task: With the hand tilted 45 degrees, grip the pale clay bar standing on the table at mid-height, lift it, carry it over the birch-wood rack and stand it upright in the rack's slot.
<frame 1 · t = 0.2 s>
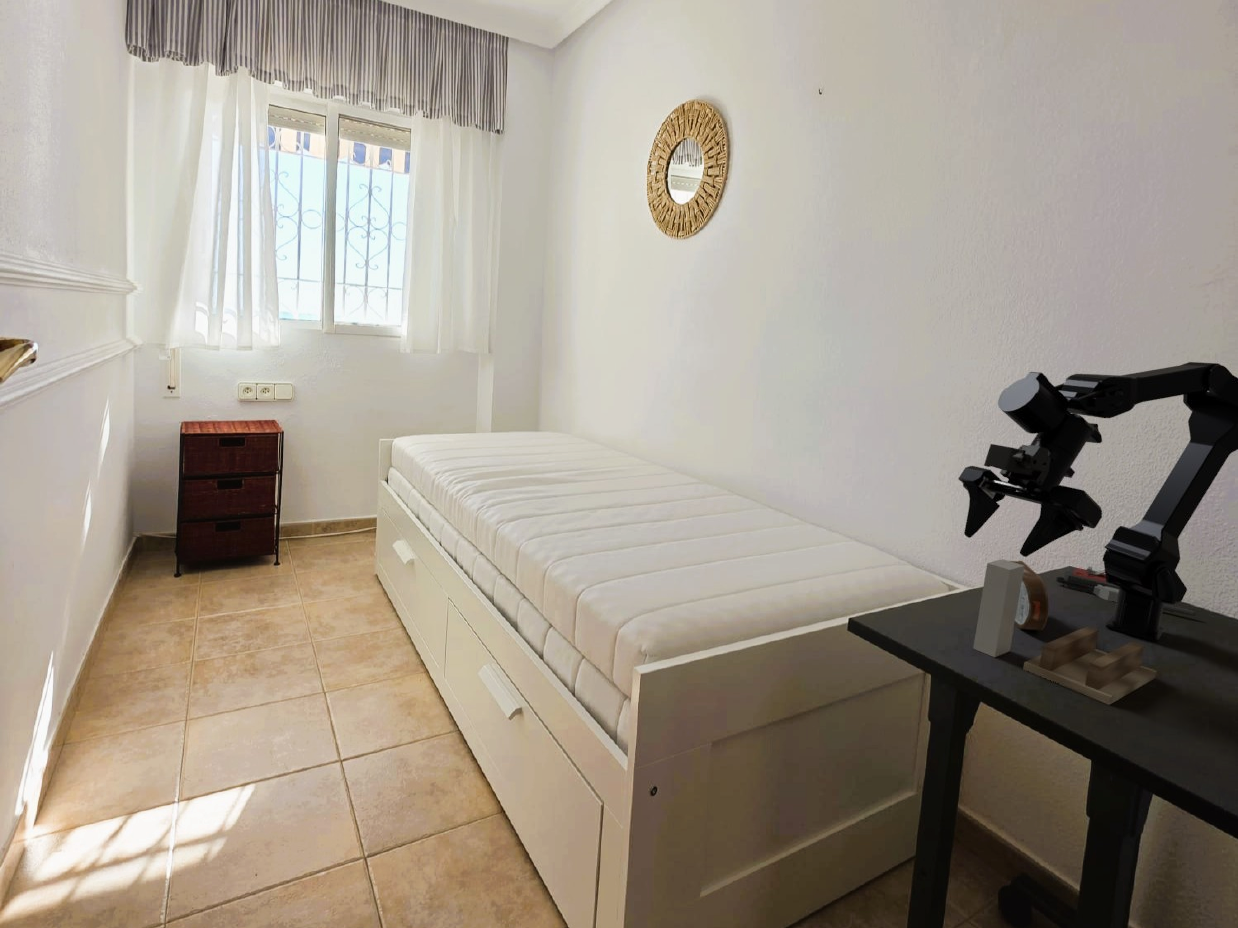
hand: (993, 545, 96), 14 cm above the table, tool tilted 35°, fingers open, 9 cm apart
rack: (1088, 673, 91), on the table
clay bar: (991, 649, 96), on the table
tin: (1015, 620, 109), on the table
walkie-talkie: (1121, 600, 122), on the table
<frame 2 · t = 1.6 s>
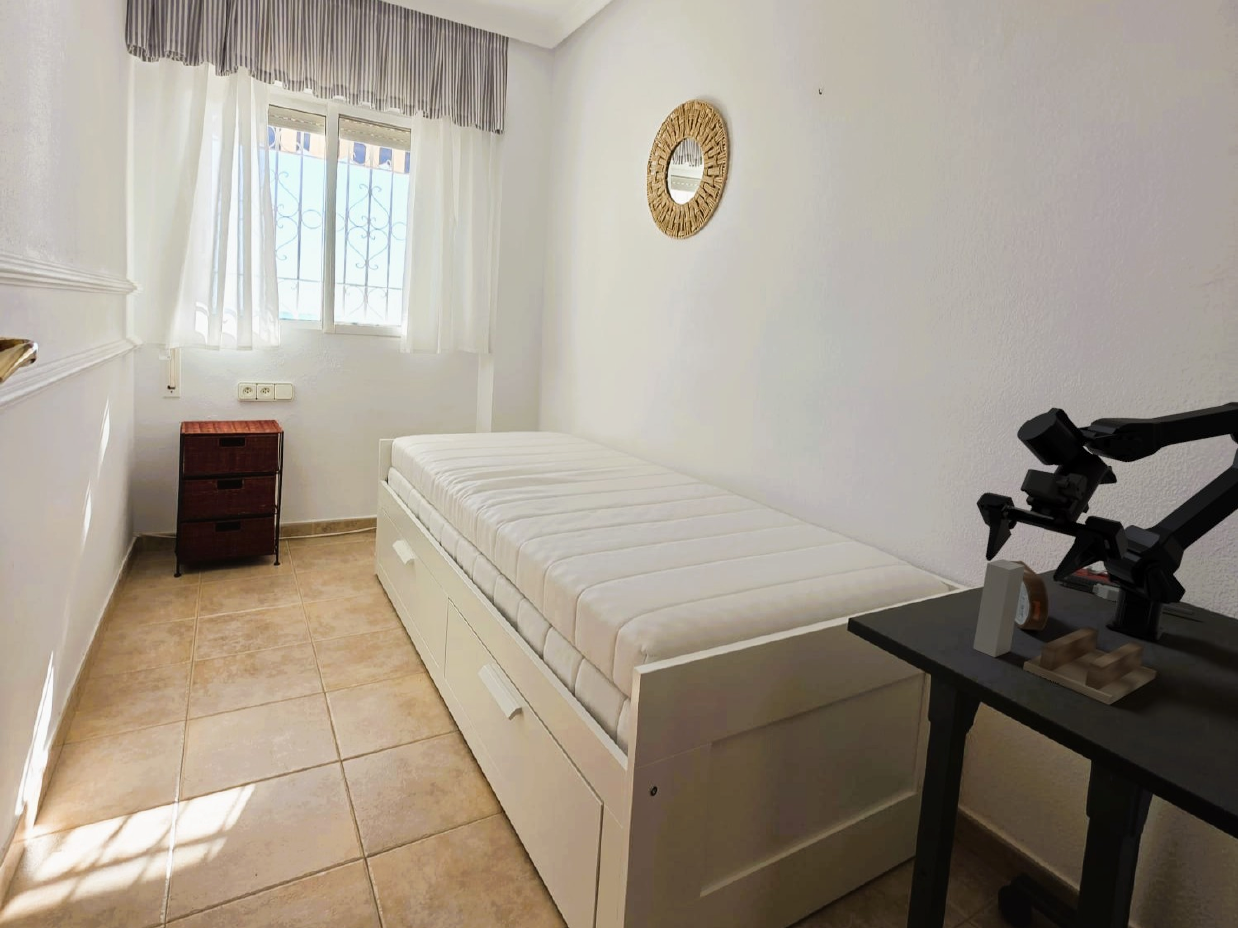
hand: (1019, 569, 97), 11 cm above the table, tool tilted 45°, fingers open, 9 cm apart
nothing on the table moved.
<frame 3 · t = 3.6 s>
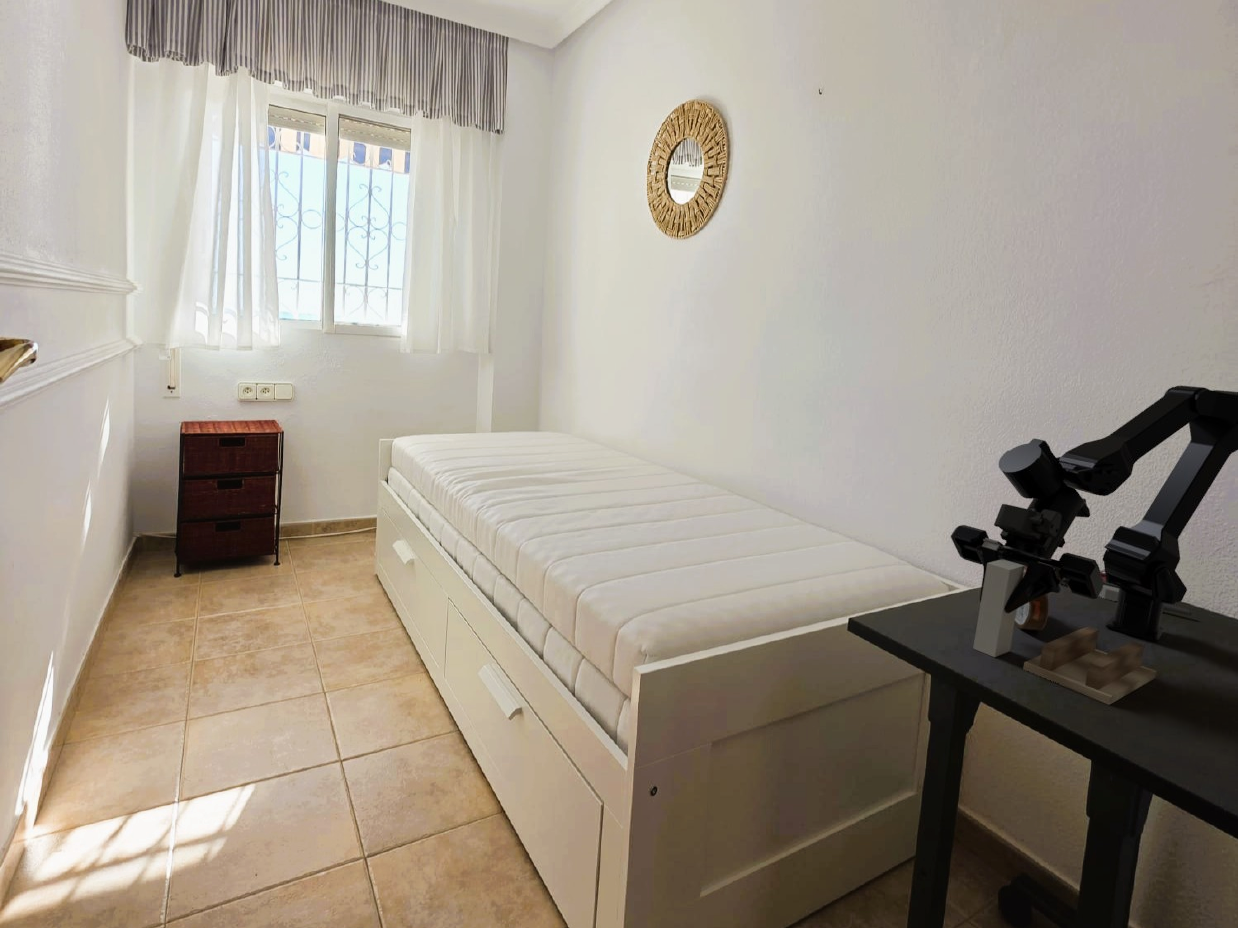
hand: (993, 606, 94), 7 cm above the table, tool tilted 45°, fingers closed on clay bar, 3 cm apart
clay bar: (991, 649, 96), on the table, touching gripper
everything else where it was.
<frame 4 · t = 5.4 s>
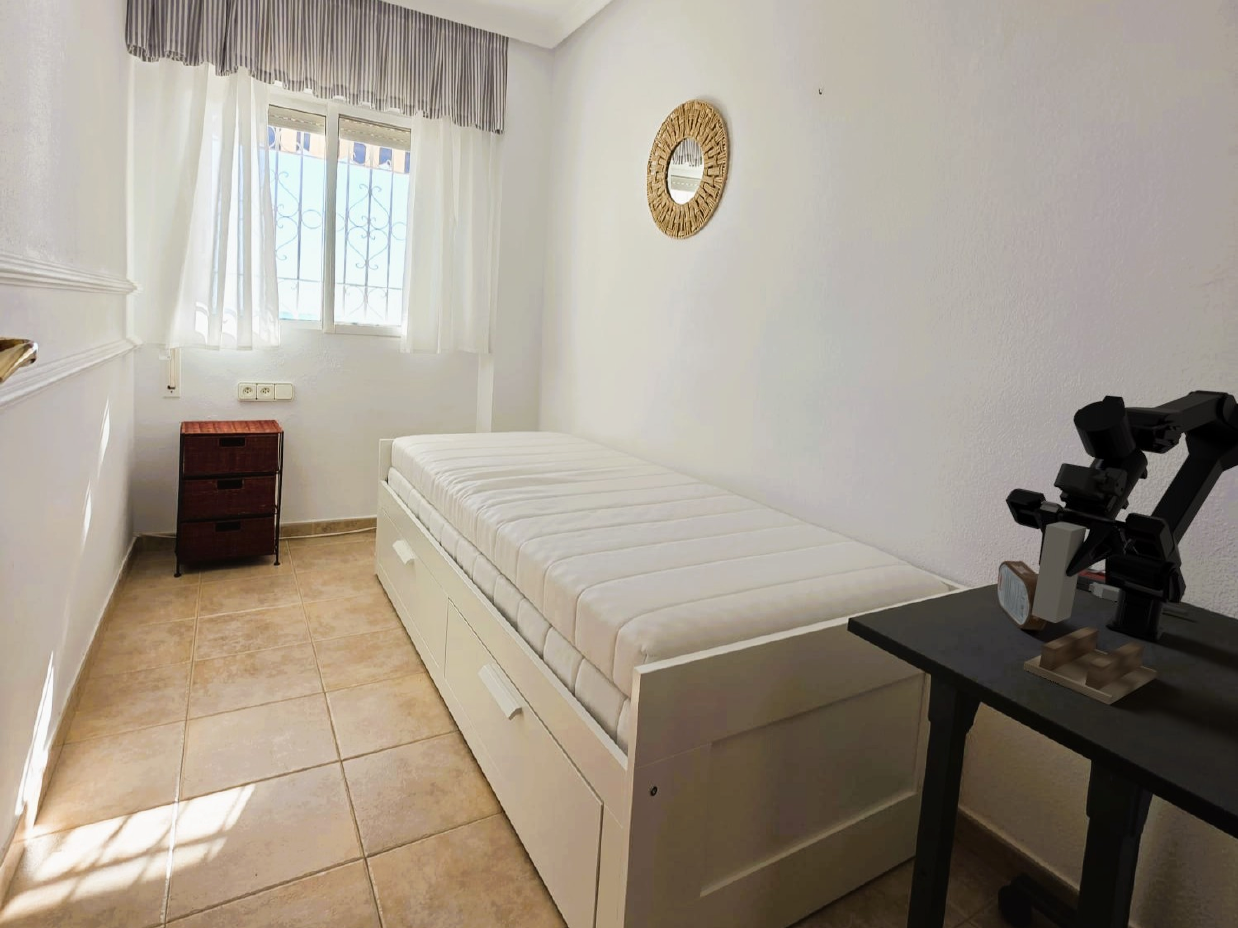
hand: (1054, 570, 91), 13 cm above the table, tool tilted 45°, fingers closed on clay bar, 3 cm apart
clay bar: (1050, 616, 93), point 7 cm above the table, touching gripper
everything else where it was.
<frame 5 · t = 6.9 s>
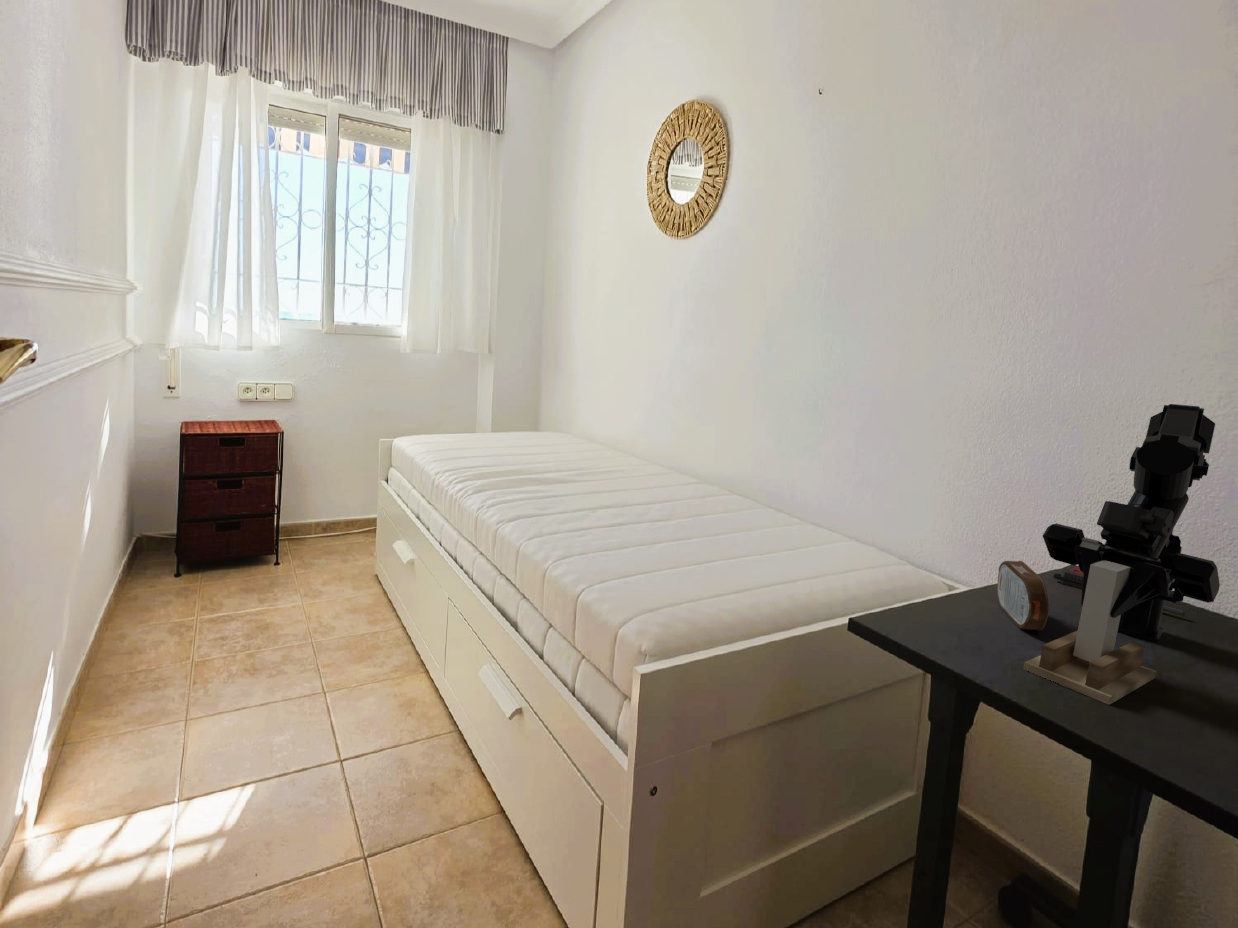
hand: (1097, 611, 88), 9 cm above the table, tool tilted 45°, fingers closed on clay bar, 3 cm apart
clay bar: (1092, 656, 90), point 2 cm above the table, touching gripper
when the fingers open (9 cm above the table, at t = 7.1 s): clay bar drops 1 cm, resting on rack.
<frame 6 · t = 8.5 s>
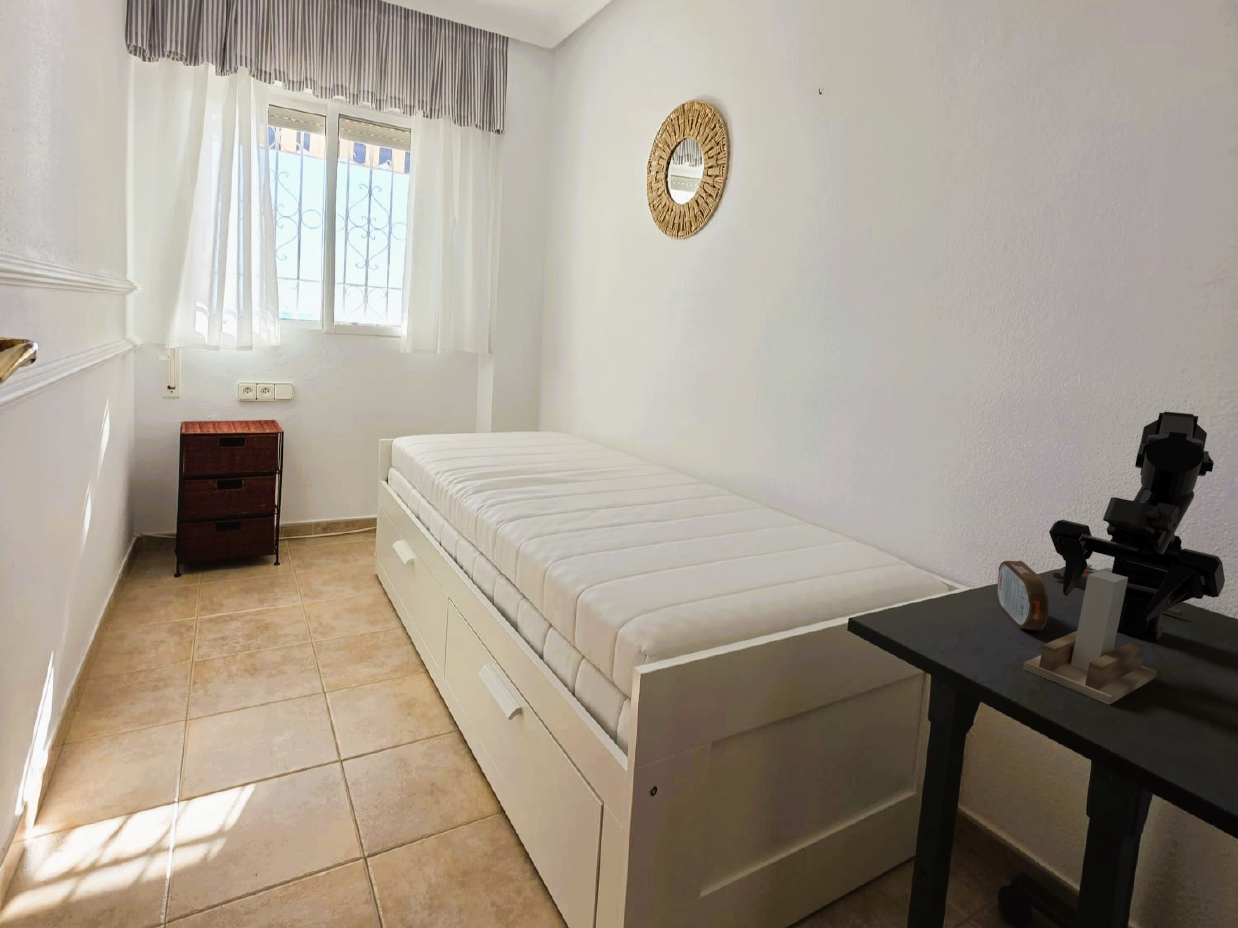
hand: (1103, 605, 90), 9 cm above the table, tool tilted 45°, fingers open, 9 cm apart
clay bar: (1090, 666, 91), point 1 cm above the table, touching rack
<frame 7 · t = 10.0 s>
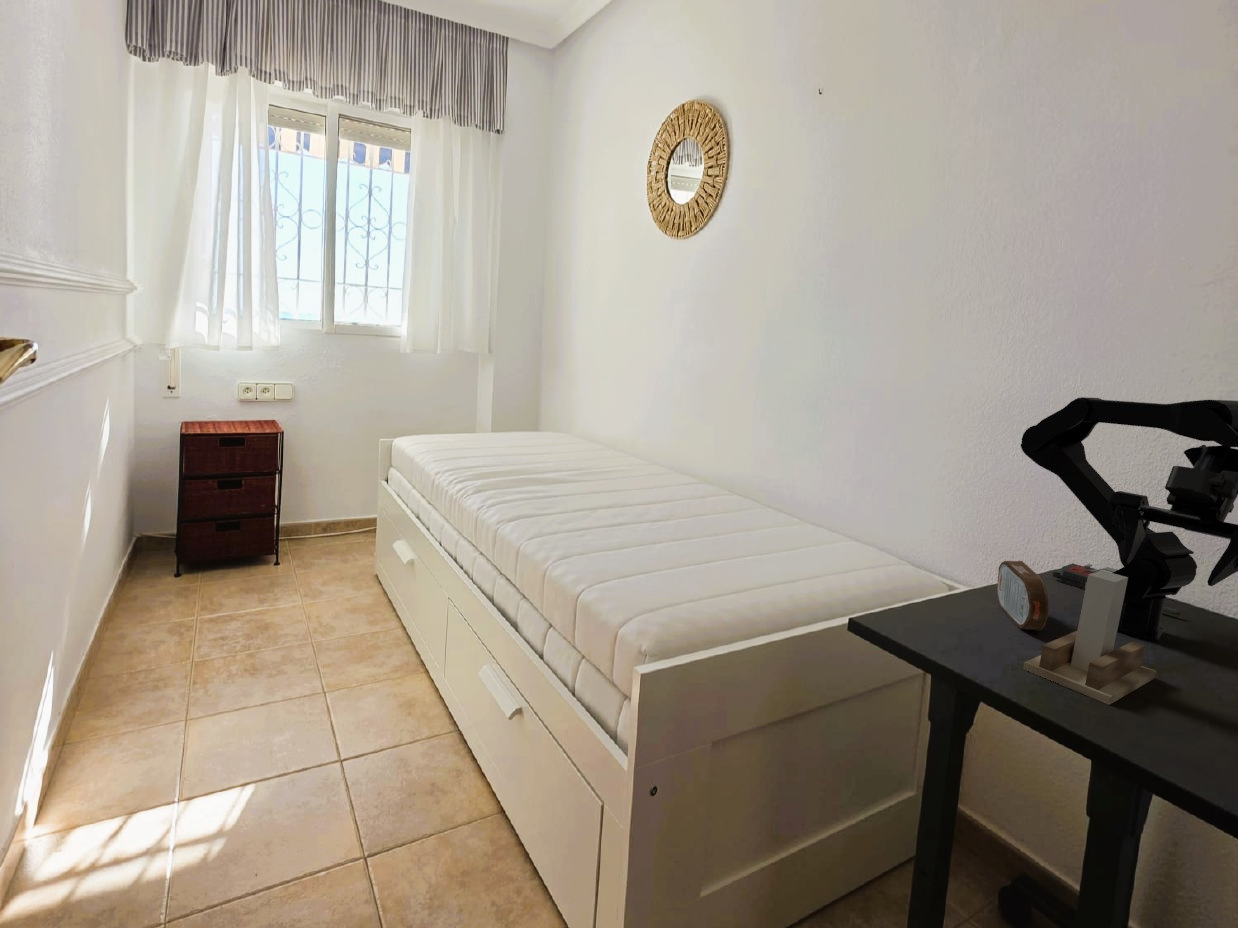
hand: (1165, 572, 91), 14 cm above the table, tool tilted 45°, fingers open, 9 cm apart
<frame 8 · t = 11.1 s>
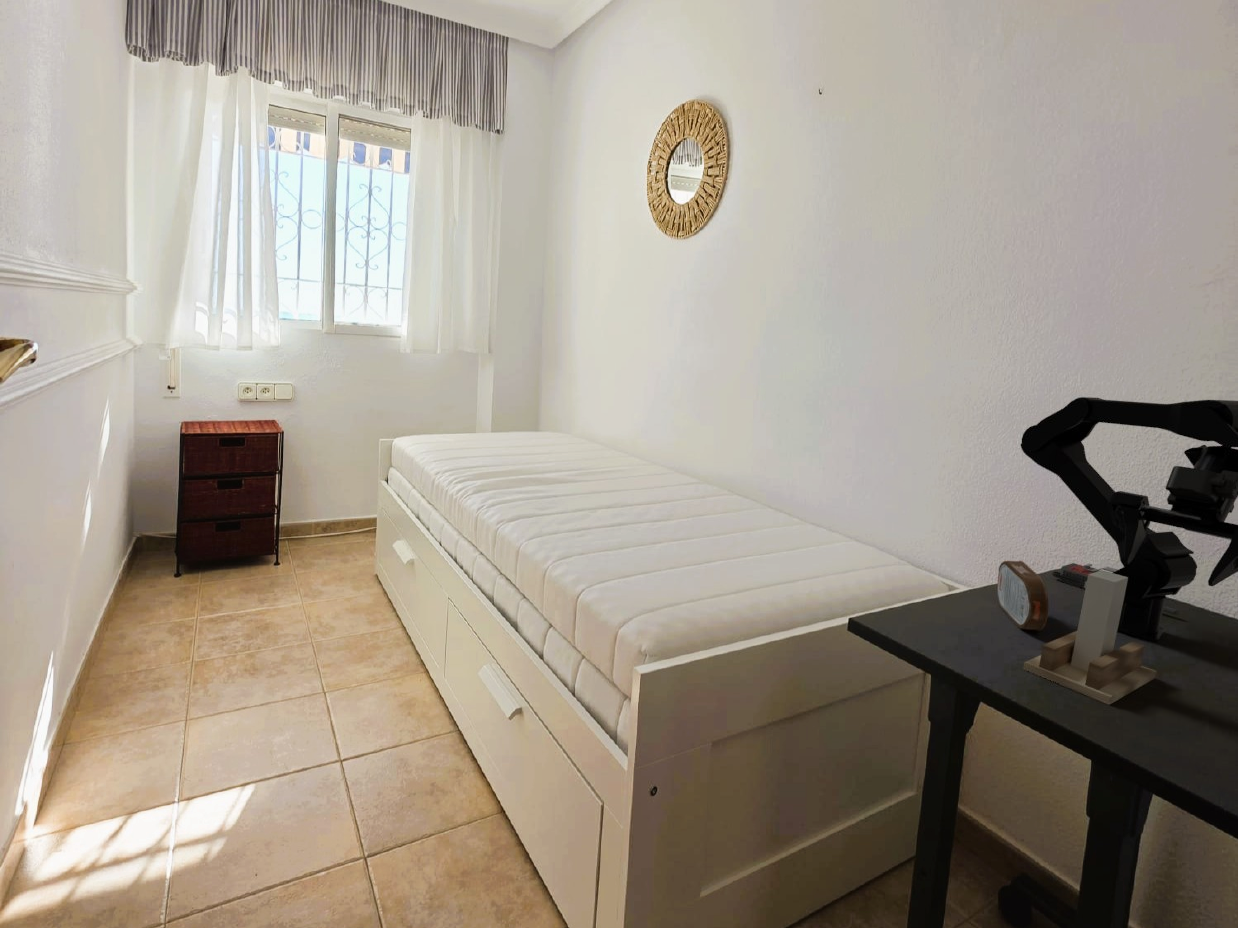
hand: (1166, 572, 91), 14 cm above the table, tool tilted 45°, fingers open, 9 cm apart
at the end: clay bar inside the target area on the rack (0.0 cm from its centre), point 1.0 cm above the rack's base; clay bar tilted 0°; the gripper is holding nothing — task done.
